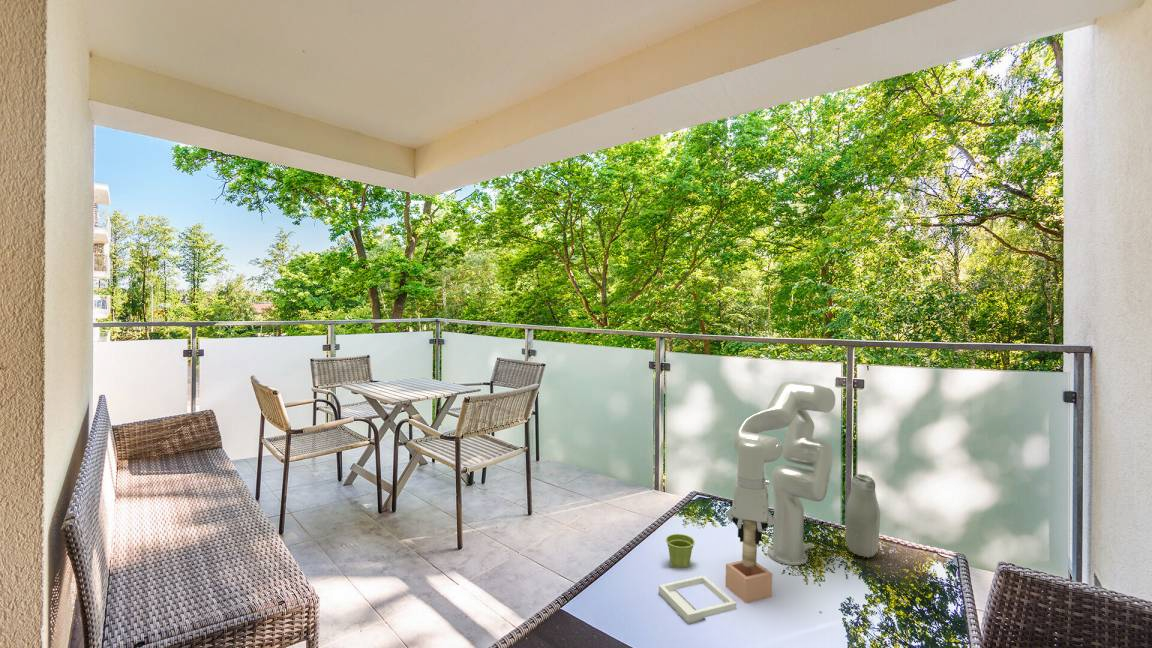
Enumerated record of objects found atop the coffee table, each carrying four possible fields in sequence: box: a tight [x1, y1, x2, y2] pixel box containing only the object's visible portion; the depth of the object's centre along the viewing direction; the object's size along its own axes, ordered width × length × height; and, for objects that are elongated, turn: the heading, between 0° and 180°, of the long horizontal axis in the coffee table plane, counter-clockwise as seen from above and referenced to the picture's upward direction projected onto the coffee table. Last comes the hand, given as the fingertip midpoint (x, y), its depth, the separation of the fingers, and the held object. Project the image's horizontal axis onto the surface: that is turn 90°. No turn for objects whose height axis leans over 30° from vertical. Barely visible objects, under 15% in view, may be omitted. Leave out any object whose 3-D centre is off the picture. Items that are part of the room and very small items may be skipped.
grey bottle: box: [845, 473, 881, 558], centre depth 184 cm, size 10×10×28 cm
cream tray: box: [658, 574, 737, 625], centre depth 156 cm, size 16×16×3 cm
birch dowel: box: [741, 519, 758, 568], centre depth 160 cm, size 4×4×14 cm
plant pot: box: [665, 533, 696, 569], centre depth 177 cm, size 9×9×9 cm
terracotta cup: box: [725, 560, 773, 604], centre depth 160 cm, size 9×9×8 cm
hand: (749, 540), depth 159 cm, fingers closed on birch dowel, 4 cm apart
